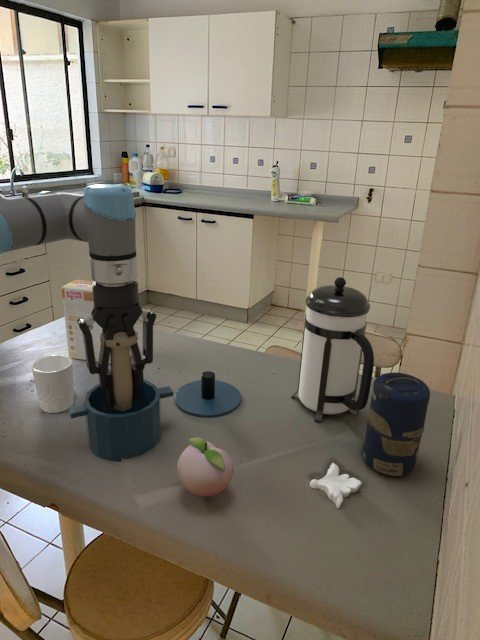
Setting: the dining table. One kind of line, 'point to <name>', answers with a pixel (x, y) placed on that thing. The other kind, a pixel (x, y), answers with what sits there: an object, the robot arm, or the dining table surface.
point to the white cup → (54, 382)
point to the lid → (207, 397)
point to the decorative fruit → (204, 468)
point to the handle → (121, 368)
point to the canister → (395, 423)
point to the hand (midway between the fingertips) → (123, 399)
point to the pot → (122, 422)
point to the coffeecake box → (76, 307)
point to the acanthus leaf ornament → (336, 485)
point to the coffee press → (335, 351)
